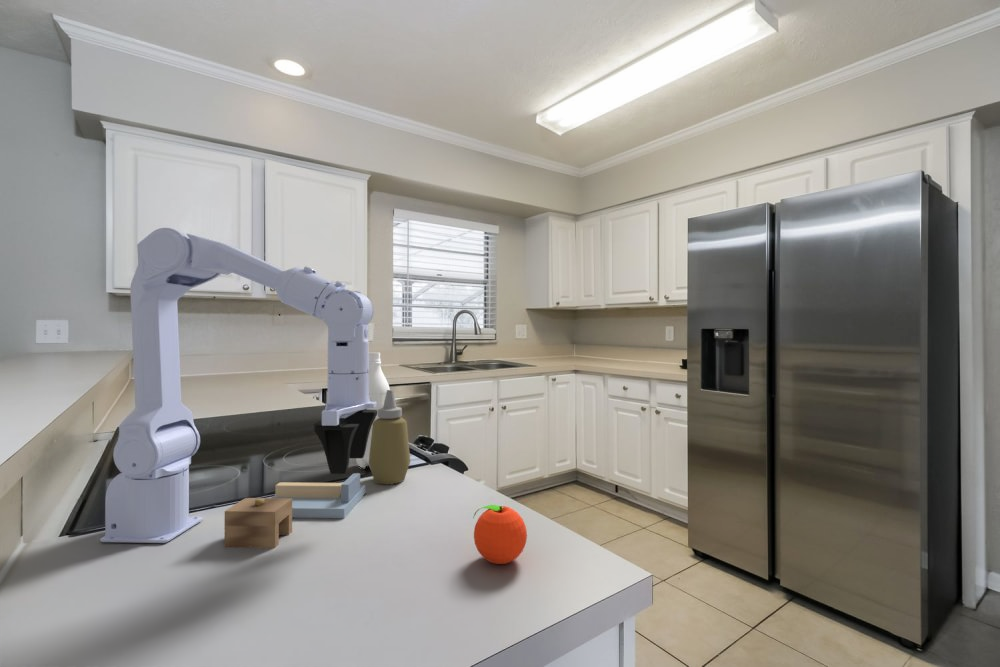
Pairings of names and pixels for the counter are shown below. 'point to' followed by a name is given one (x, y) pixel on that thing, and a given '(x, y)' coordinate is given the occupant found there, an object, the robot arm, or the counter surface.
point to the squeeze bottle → (389, 444)
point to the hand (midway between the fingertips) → (348, 465)
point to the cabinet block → (258, 522)
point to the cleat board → (322, 497)
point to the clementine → (500, 534)
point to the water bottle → (374, 397)
